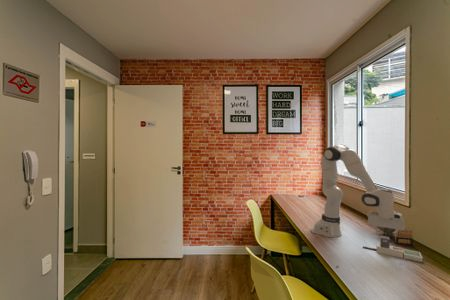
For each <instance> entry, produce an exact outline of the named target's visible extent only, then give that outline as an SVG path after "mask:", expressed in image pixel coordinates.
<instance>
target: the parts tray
mask: <svg viewBox="0 0 450 300" xmlns="http://www.w3.org/2000/svg"><path fill="white" fill-rule="evenodd" d="M402 250H403V259H406V260H410V261H413V262H414V261H415V262H419V263H423V259H424V258H423V255H422V253H421V251H416V250H412V249H406V248H402Z"/></svg>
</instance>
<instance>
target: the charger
mask: <svg viewBox="0 0 450 300" xmlns="http://www.w3.org/2000/svg"><path fill="white" fill-rule="evenodd" d="M379 240H380V241H379V242H380V243H379V244H380V246H381V247H384V248H389V246H391V244H390V243H391V242H390V236H386V235H380V239H379Z"/></svg>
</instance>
